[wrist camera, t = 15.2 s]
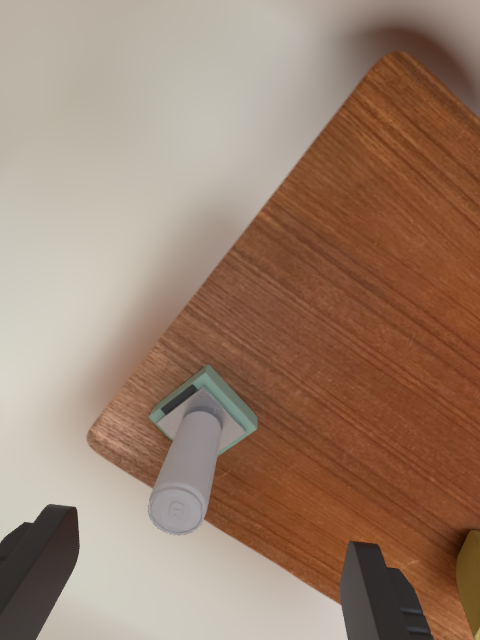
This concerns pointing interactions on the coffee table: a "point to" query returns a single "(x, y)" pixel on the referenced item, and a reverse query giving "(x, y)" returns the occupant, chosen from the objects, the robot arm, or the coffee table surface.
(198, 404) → the scale pan
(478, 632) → the flower pot
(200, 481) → the beverage can
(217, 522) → the coffee table surface
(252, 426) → the scale
